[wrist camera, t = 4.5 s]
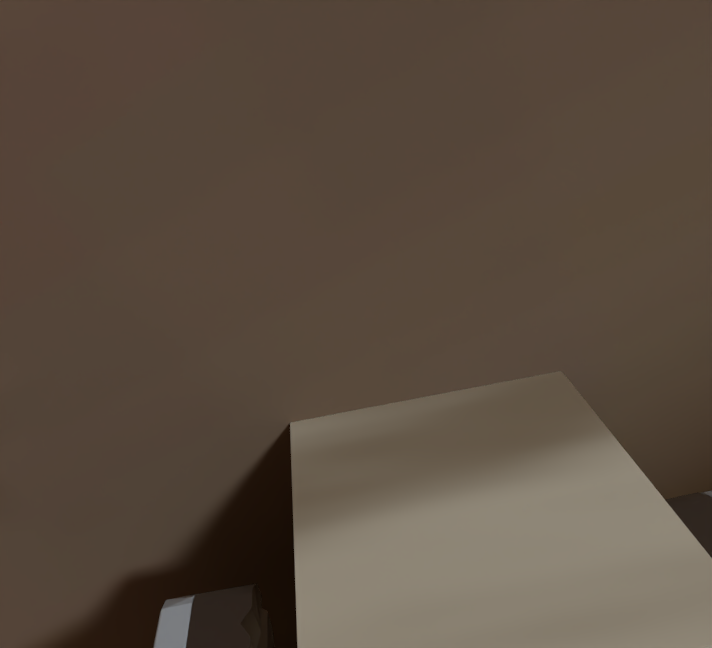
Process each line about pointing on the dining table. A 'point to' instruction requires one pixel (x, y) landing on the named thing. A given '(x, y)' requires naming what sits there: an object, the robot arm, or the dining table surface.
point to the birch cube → (487, 529)
